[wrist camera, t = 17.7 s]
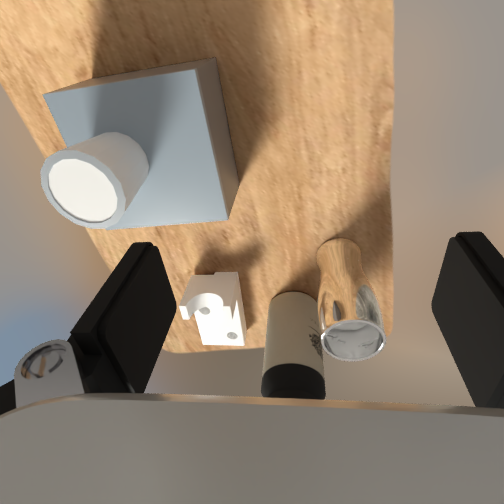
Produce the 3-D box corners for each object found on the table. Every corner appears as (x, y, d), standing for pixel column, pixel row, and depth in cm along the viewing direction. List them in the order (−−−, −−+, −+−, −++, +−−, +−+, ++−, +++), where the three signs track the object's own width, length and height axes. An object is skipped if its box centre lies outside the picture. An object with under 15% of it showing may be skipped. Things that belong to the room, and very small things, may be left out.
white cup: (125, 205, 35) (92, 243, 29) (71, 153, 32) (22, 183, 26) (169, 169, 32) (142, 202, 26) (114, 108, 29) (70, 131, 24)
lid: (47, 92, 30) (42, 94, 29) (196, 68, 27) (194, 69, 27) (109, 226, 38) (106, 230, 37) (229, 216, 35) (228, 220, 35)
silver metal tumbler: (358, 277, 48) (378, 366, 36) (309, 272, 49) (314, 359, 37) (369, 237, 44) (397, 322, 32) (316, 232, 45) (324, 315, 33)
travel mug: (274, 327, 56) (267, 436, 42) (263, 293, 52) (251, 401, 38) (321, 323, 55) (331, 436, 40) (315, 287, 50) (322, 399, 36)
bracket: (192, 271, 51) (178, 306, 45) (238, 270, 50) (229, 306, 44) (207, 328, 59) (197, 364, 53) (247, 329, 58) (241, 366, 52)
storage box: (91, 78, 36) (47, 92, 30) (215, 57, 34) (196, 68, 27) (136, 194, 44) (109, 226, 38) (239, 184, 42) (229, 216, 35)
